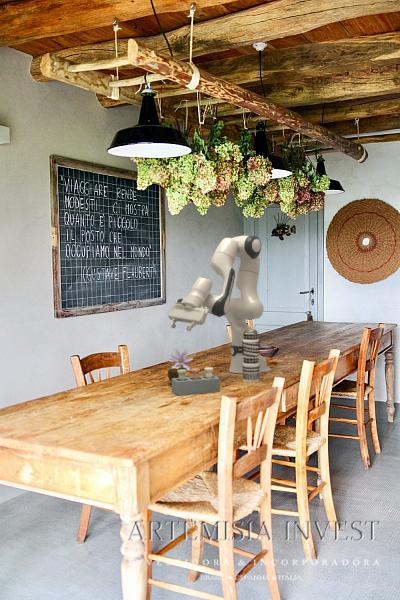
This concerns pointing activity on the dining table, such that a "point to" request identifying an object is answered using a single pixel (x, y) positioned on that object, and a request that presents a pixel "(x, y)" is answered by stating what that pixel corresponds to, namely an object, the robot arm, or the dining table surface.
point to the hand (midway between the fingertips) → (180, 328)
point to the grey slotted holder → (195, 385)
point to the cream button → (208, 372)
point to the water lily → (180, 360)
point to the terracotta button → (195, 373)
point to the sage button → (181, 374)
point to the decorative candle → (250, 355)
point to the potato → (173, 373)
